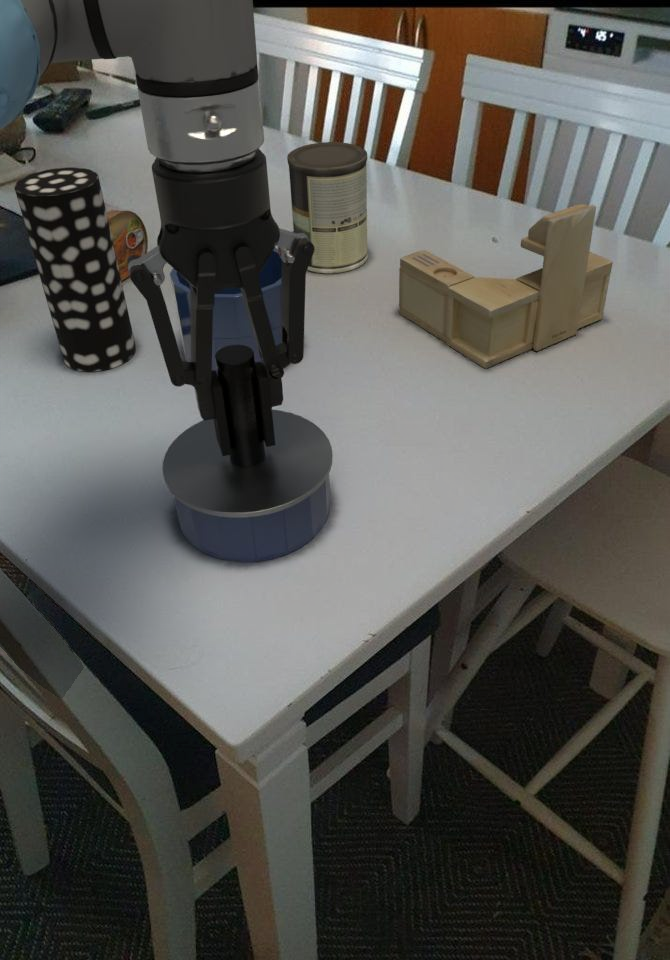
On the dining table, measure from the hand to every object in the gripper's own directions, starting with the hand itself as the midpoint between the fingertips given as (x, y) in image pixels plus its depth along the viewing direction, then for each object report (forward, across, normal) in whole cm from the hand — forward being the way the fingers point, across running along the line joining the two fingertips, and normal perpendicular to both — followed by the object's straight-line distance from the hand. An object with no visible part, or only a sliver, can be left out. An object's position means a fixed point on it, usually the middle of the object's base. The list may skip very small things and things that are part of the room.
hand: (245, 441), depth 68 cm
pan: (+8, 0, 0) cm, 8 cm away
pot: (+8, +5, +28) cm, 29 cm away
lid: (+2, 0, 0) cm, 2 cm away
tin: (+8, -8, +52) cm, 53 cm away
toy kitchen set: (+8, +36, +24) cm, 44 cm away
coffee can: (+8, +22, +48) cm, 53 cm away
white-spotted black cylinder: (+8, -11, +33) cm, 36 cm away
